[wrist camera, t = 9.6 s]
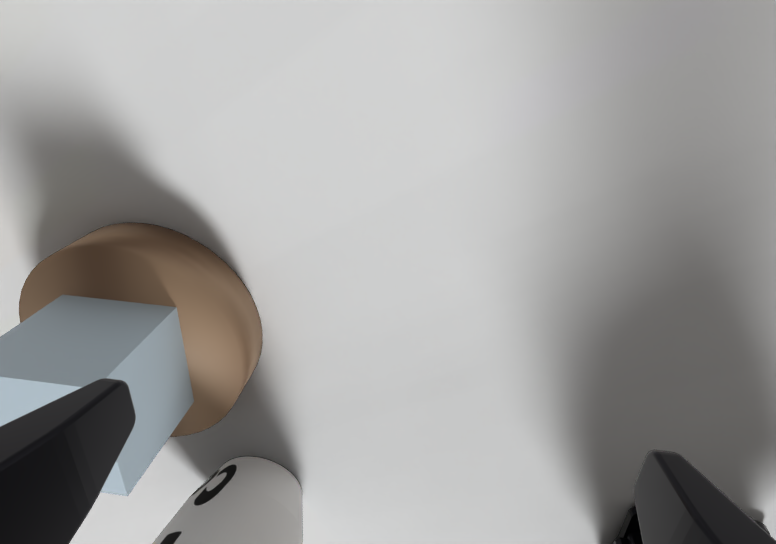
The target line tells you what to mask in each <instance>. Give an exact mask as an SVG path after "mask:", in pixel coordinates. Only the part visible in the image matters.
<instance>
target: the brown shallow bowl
mask: <svg viewBox="0 0 776 544" xmlns="http://www.w3.org/2000/svg"><path fill="white" fill-rule="evenodd" d="M61 295H70V296H80V297H89V298H98V299H107V300H116V301H125V302H134V303H143V304H153V305H162V306H171V307H177V312H178V317H179V322H180V328H181V333H182V339H183V344H184V349H185V355H186V360H187V366H188V371H189V376H190V382H191V387H192V392H193V398H194V402H193V404H192V405H191V407H190V408H189V410H188V411H187V412H186V414H185V415H184V417H183V418H182V420H181V421H180V422H179V424H178V425H177V427H176V428H175V430H174V431H173V432H172V434H171V435H170V437H177V436H185V435H190V434H194V433H198V432H200V431H203V430H205V429H208V428H210V427H211V426H213V425H215V424H216V423H218V422H219V421H220V420H221V419H222V418H224V417H225V416H226V415H227V413H228V412H229V411H230V410H231V408H232V407H233V405H234V403H235V402H236V400H237V398H238V397H239V395H240V393H241V392H242V390H243V388H244V387H245V385H246V383H247V381H248V380H249V378H250V376H251V375H252V373H253V371H254V369H255V368H256V366H257V364H258V361H259V358H260V355H261V349H262V328H261V321H260V318H259V314H258V311H257V308H256V306H255V304H254V301H253V299H252V297H251V295H250V294H249V292H248V290H247V289H246V287H245V285H244V284H243V283H242V281H241V280H240V279H239V277H238V276H237V275H236V274H235V272H234V271H233V270H232V269H231V268H230V267H229V266H228V265H227V264H226V263H225V262H224V261H223V260H222V259H220V258H219V257H218V256H217V255H216V254H215V253H213V252H212V251H211V250H209V249H208V248H206V247H205V246H203V245H202V244H200V243H199V242H197V241H195V240H193V239H191V238H189V237H188V236H186V235H183V234H181V233H178V232H176V231H173V230H171V229H167V228H164V227H160V226H157V225H151V224H144V223H120V224H113V225H109V226H105V227H102V228H100V229H98V230H95V231H93V232H91V233H89V234H87V235H86V236H84V237H82V238H80V239H79V240H77V241H75V242H73V243H72V244H70V245H68V246H66V247H65V248H63V249H61V250H59V251H58V252H56V253H54V254H52V255H51V256H49V257H47V258H46V259H45V260H43V261H42V262H40V263H39V264H38V265H37V266H36V267H35V268H34V269H33V270H32V271H31V273H30V274H29V276H28V277H27V279H26V281H25V283H24V286H23V288H22V291H21V296H20V301H19V316H20V323H22V322H23V321H24V320H26V319H27V318H29V317H30V316H32V315H33V314H35V313H36V312H38V311H39V310H41V309H42V308H43V307H45V306H46V305H48V304H49V303H51V302H52V301H54V300H55V299H57V298H58V297H60V296H61Z"/></svg>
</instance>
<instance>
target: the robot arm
mask: <svg viewBox="0 0 776 544" xmlns="http://www.w3.org/2000/svg"><path fill="white" fill-rule="evenodd" d="M135 420H136V414H135V409H134V405H133V401H132V398H131V394H130V390H129V386H128V384H127V383H126V382H125V381H123V380H116V379H109V378H102V379H99V380H96V381H94V382H92V383H90V384H88V385H86V386H84V387H82V388H80V389H78V390H75V391H73V392H71V393H69V394H67V395H65V396H63V397H61V398H59V399H57V400H55V401H52V402H50V403H48V404H46V405H44V406H42V407H40V408H38V409H36V410H34V411H32V412H29V413H27V414H25V415H23V416H21V417H19V418H17V419H15V420H13V421H11V422H9V423H6V424H4V425H2V426H0V544H69V543H70V541H71V540H72V538H73V536H74V535H75V533H76V532H77V530H78V529H79V527H80V526H81V524H82V522H83V521H84V519H85V518H86V516H87V514H88V513H89V511H90V509H91V508H92V506H93V504H94V502H95V501H96V499H97V497H98V495H99V493H100V491H101V490H102V488H103V486H104V484H105V482H106V480H107V478H108V476H109V474H110V472H111V470H112V468H113V466H114V464H115V463H116V461H117V459H118V457H119V455H120V453H121V451H122V449H123V447H124V445H125V443H126V441H127V439H128V438H129V436H130V434H131V432H132V430H133V427H134V425H135ZM634 499H635V505H636V506H634V507H632V508H631V509H630V510H629V512H628V514H627V517H626V519H625V522H624V524H623V526H622V529H621V531H620V534H619V536H618V537H617V538H616V540H615V541H614V543H613V544H776V540H775V539H773V538H772V537H771V536H770V533H769V531H768V530H767V528H766V526H765V525H764V524H763V523H760V522H755V521H753V520H752V519H751V518H750V517H749V516H748V515H747V514H746V513H745V512H743V511H742V510H741V509H740V508H739V507H738V506H737V505H736V504H734V503H733V502H732V501H731V500H730V499H729V498H728V497H727V496H726V495H724V494H723V493H722V492H721V491H720V490H719V489H718V488H717V487H716V486H714V485H713V484H712V483H711V482H710V481H709V480H708V479H707V478H706V477H704V476H703V475H702V474H701V473H700V472H699V471H698V470H697V469H696V468H694V467H693V466H692V465H691V464H690V463H689V462H688V461H687V460H686V459H684V458H683V457H682V456H681V455H679V454H677V453H674V452H667V451H660V450H651V451H650V452H649V453H648V454H647V455H646V458H645V460H644V462H643V465H642V467H641V470H640V472H639V475H638V477H637V479H636V482H635V486H634Z"/></svg>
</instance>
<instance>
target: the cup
mask: <svg viewBox="0 0 776 544" xmlns="http://www.w3.org/2000/svg"><path fill="white" fill-rule="evenodd" d="M302 543H303V508H302V489H301V486H300V484H299V482H298V481H297V479H296V478H295V477H294V476H293V475H292V474H291V473H290V472H289V471H288V470H287V469H285V468H284V467H282V466H281V465H279V464H277V463H275V462H273V461H270V460H267V459H264V458H259V457H249V456H247V457H238V458H234V459H232V460H229V461H228V462H226V463H225V464H224V465H223V466H222V467H221V468H219V469H218V470H217V471H216V472H215V473H214V474H213V475H212V476H211V477H210V478H209V479H208V480H207V481H206V482H205V483H204V484H203V485H202V486H201V487H200V488H198V489H197V490H196V491H195V492H194V493H193V494H192V495H191V496H190V497H189V498H188V500H187V501H186V502H185V503H184V505H183V506H182V507H181V508H180V510H179V511H178V512H177V513H176V515H175V516H174V517H173V518H172V520H171V521H170V522H169V523H168V525H167V526H166V527H165V528H164V530H163V531H162V532H161V533H160V535H159V536H158V537H157V538H156V540H155V541H154V542H153V543H152V544H302Z"/></svg>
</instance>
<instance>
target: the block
mask: <svg viewBox="0 0 776 544" xmlns="http://www.w3.org/2000/svg"><path fill="white" fill-rule="evenodd" d="M102 378H109V379H116V380H123V381H125V382H126V383H127V384H128V386H129V390H130V394H131V398H132V401H133V405H134V409H135V414H136V420H135V425H134V427H133V430H132V432H131V434H130V436H129V438H128V439H127V441H126V443H125V445H124V447H123V449H122V451H121V453H120V455H119V457H118V459H117V461H116V463H115V464H114V466H113V468H112V470H111V472H110V474H109V476H108V478H107V480H106V482H105V484H104V486H103V488H102V490H101V491H100V492H103V493H109V494H116V495H123V496H128V495H129V494H130V492H131V491H132V489H133V488H134V486H135V485H136V484H137V482H138V481H139V479H140V478H141V477H142V475H143V474H144V472H145V471H146V469H147V468H148V467H149V465H150V464H151V462H152V461H153V459H154V458H155V457H156V455H157V454H158V452H159V451H160V449H161V448H162V447H163V445H164V444H165V442H166V441H167V439H168V438H169V437H170V435H171V434H172V432H173V431H174V430H175V428H176V427H177V425H178V424H179V422H180V421H181V420H182V418H183V417H184V415H185V414H186V412H187V411H188V410H189V408H190V407H191V405H192V404H193V402H194V398H193V392H192V387H191V382H190V376H189V371H188V366H187V360H186V355H185V349H184V344H183V339H182V333H181V328H180V322H179V317H178V312H177V307H171V306H162V305H153V304H143V303H134V302H125V301H116V300H107V299H98V298H89V297H80V296H70V295H61V296H60V297H58V298H57V299H55V300H54V301H52V302H51V303H49V304H48V305H46V306H45V307H43V308H42V309H41V310H39V311H38V312H36V313H35V314H33V315H32V316H30V317H29V318H27V319H26V320H24V321H23V322H22V323H20V324H19V325H17V326H16V327H14V328H13V329H11V330H10V331H8V332H7V333H5V334H4V335H2V336H1V337H0V426H2V425H4V424H6V423H9V422H11V421H13V420H15V419H17V418H19V417H21V416H23V415H25V414H27V413H29V412H32V411H34V410H36V409H38V408H40V407H42V406H44V405H46V404H48V403H50V402H52V401H55V400H57V399H59V398H61V397H63V396H65V395H67V394H69V393H71V392H73V391H75V390H78V389H80V388H82V387H84V386H86V385H88V384H90V383H92V382H94V381H96V380H99V379H102Z"/></svg>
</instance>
